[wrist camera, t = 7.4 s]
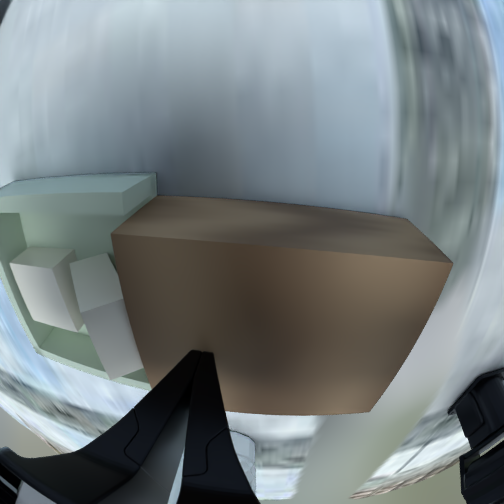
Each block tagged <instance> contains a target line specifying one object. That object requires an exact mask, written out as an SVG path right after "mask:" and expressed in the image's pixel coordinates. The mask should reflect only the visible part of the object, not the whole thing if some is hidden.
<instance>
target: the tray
mask: <svg viewBox="0 0 504 504" xmlns="http://www.w3.org/2000/svg"><path fill="white" fill-rule="evenodd" d="M156 196H157V181H156V173H107V174H87V175H71V176H59V177H48V178H38V179H29V180H21V181H14V182H12V183H9V184H7V185H5V186H3V187H1V188H0V277H1V280H2V283H3V285H4V288H5V290H6V293H7V295H8V297H9V300H10V302H11V304H12V306H13V309H14V311H15V313H16V315H17V317H18V319H19V321H20V323H21V325H22V327H23V329H24V331H25V333H26V335H27V337H28V339H29V340H30V342H31V344H32V346H33V348H34V349H35V351H36V353H38V354H40V355H42V356H44V357H47V358H49V359H51V360H54V361H56V362H59V363H61V364H64V365H67V366H69V367H72V368H74V369H77V370H80V371H83V372H86V373H89V374H92V375H95V376H98V377H101V378H104V379H107V380H110V379H109V377H108V375H107V373H106V371H105V369H104V367H103V365H102V363H101V360H100V358H99V356H98V354H97V352H96V350H95V347H94V345H93V343H92V340H91V338H90V336H89V333H88V331H87V328H86V326H85V323H84V325H83V326H82V327H81V329H80V330H79V332H78V333H77V332H73V331H69V330H66V329H62V328H58V327H55V326H51V325H48V324H45V323H41V322H38V321H35V320H33V318H32V316H31V314H30V312H29V310H28V308H27V306H26V303H25V301H24V299H23V297H22V294H21V292H20V290H19V287H18V285H17V282H16V280H15V277H14V275H13V272H12V269H11V267H10V264H9V263H10V262H11V261H12V260H13V259H15V258H16V257H17V256H18V255H20V254H21V253H22V252H23V251H25V250H26V249H27V248H28V247H48V248H65V249H74V250H75V254H76V258H77V261H79V260H83V259H86V258H89V257H93V256H96V255H100V254H103V253H107V254H108V256H109V258H110V260H111V262H112V264H113V266H114V268H115V270H116V272H117V267H116V262H115V257H114V252H113V246H112V240H111V234H110V233H112V232H113V231H114V230H115V229H116V228H117V227H119V226H120V225H121V224H122V223H123V222H125V221H126V220H127V219H128V218H129V217H131V216H132V215H133V214H134V213H135V212H137V211H138V210H139V209H140V208H142V207H143V206H144V205H145V204H147V203H148V202H149V201H150V200H152V199H153V198H154V197H156ZM117 274H118V272H117ZM111 381H114V382H117V383H121V384H125V385H128V386H132V387H136V388H140V389H144V390H148V391H151V390H152V389H151V386H150V384H149V381H148V378H147V375H146V373H145V370H144V368H141V369H139V370H136V371H134V372H131V373H129V374H126V375H124V376H121V377H118V378H116V379H113V380H111Z"/></svg>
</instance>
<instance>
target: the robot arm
mask: <svg viewBox="0 0 504 504" xmlns="http://www.w3.org/2000/svg"><path fill="white" fill-rule="evenodd" d="M456 413H457V416H458V418H459V421H460V424H461V426H462V429H463V432H464V435H465V437H466V438H468V441H469V444H470V447H471V449H472V450H470V451H469V452H467V453H465V454H463V455H461V456H460V457H459V459H460V475H461V476H460V477H461V493H462V495H463V497H464V499H465V500H466V503H467V504H504V440H503V441H502V442H501V443H499V444H498V445H496V446H495V447H494V448H492V449H491V450H489V451H488V452H487V453H486V454H484V455H482V456H481V457H480V455H479V454H481V453H482V452H484V451H485V450H487V449H488V448H490V447H491V446H492V445H494V444H495V443H496V442H498V441H499V440H500V439H502V438H503V437H504V369H501V370H498V371H495V372H491V373H488V374H485V375H481V376H480V377H478V378H477V379H476V381H475V382H474V383H473V384H472V385H471V387H470V388H469V389H468V390H467V391H466V392H465V394H464V395H463V396H462V397H461V398H460V399H459V400H458V401H457V402H456V403H455V405H454V406H453V407H452V408H451V409H450V410H449V411H448V415H453V414H456ZM184 447H185V448H184ZM183 451H184V458H183V468H182V479H181V487H180V492H179V496H178V499H177V502H176V504H260V502H259V500H258V499H257V497H256V495H255V493H254V491H253V489H252V487H251V485H250V483H249V481H248V479H247V477H246V475H245V473H244V470H243V468H242V466H241V464H240V461H239V459H238V456H237V454H236V451H235V449H234V445H233V442H232V438H231V434H230V430H229V426H228V421H227V417H226V412H225V408H224V403H223V398H222V393H221V388H220V383H219V378H218V373H217V368H216V363H215V357H214V353H213V352H207V351H203V352H202V351H200V350H190V351H189V352H188V353H187V354H186V355H185V356H184V357H183V358H182V359H181V360H180V361H179V362H178V363H177V364H176V366H175V367H174V368H173V369H172V370H171V371H170V372H169V373H168V374H167V375H166V376H165V377H164V378H163V379H162V380H161V381H160V382H159V383H158V384H157V385H156V386H155V387H154V388H153V389H152V390H151V391H150V392H149V393H148V394H147V395H146V396H145V397H144V398H143V399H142V400H141V401H140V402H139V403H138V404H137V405H136V406H134V408H132V409H131V410H130V411H129V412H128V413H127V414H126V415H125V416H124V417H123V418H122V419H121V420H120V421H119V422H117V423H116V424H115V425H114V426H112V427H111V428H110V429H108V430H107V431H106V432H104V433H103V434H102V435H100V436H99V437H97V438H96V439H95V440H93V441H92V442H90V443H89V444H88V445H86V446H85V447H83V448H81V449H79V450H77V451H74V452H71V453H66V454H60V455H53V456H46V457H38V458H24V457H21V456H19V455H17V454H16V453H15V452H13V451H12V450H11V449H10V448H8V447H3V448H0V504H168V500H169V497H170V493H171V490H172V487H173V483H174V480H175V477H176V474H177V470H178V467H179V464H180V460H181V457H182V454H183Z"/></svg>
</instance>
